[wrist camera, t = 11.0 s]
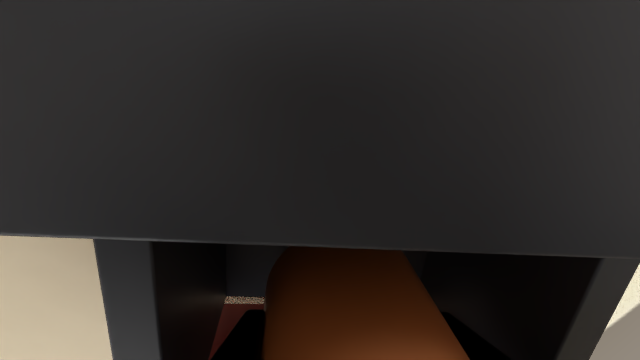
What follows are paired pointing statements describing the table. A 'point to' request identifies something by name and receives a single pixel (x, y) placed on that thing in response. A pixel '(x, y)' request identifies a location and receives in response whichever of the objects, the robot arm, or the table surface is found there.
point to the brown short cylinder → (351, 309)
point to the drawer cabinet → (325, 123)
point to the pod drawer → (431, 267)
